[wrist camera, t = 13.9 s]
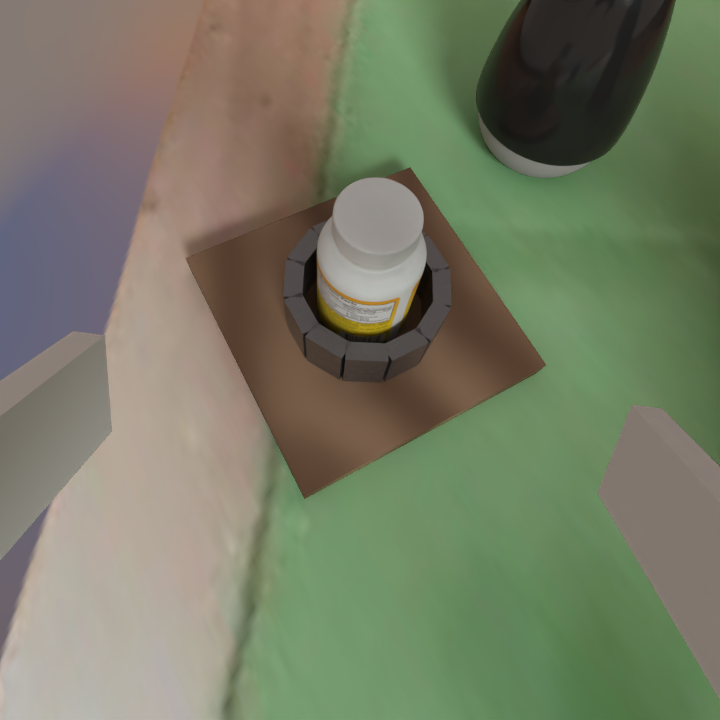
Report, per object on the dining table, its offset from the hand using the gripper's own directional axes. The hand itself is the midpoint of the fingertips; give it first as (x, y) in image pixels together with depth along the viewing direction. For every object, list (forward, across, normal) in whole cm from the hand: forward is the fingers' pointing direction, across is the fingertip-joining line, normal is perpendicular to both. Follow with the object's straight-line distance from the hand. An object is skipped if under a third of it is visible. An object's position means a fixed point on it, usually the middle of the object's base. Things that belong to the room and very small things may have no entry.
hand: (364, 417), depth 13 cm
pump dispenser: (+31, +11, +7) cm, 34 cm away
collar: (+19, 0, -4) cm, 19 cm away
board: (+20, 0, -5) cm, 20 cm away
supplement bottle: (+19, 0, -4) cm, 19 cm away
